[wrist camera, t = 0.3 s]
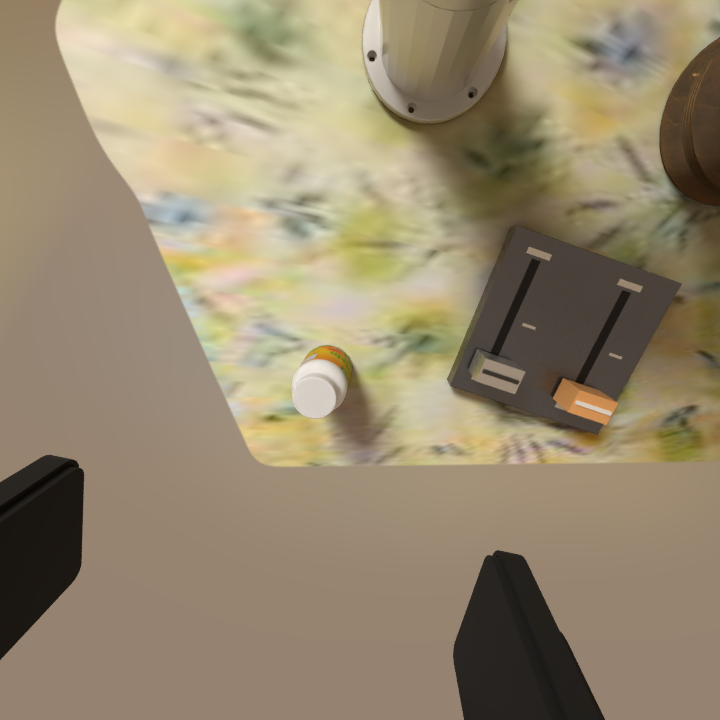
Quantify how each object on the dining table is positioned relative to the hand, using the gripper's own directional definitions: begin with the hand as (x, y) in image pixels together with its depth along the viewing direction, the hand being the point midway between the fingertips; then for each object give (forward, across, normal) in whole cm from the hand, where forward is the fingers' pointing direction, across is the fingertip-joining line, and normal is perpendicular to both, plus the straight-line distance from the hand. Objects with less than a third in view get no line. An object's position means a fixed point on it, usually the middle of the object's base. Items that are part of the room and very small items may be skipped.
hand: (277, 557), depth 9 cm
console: (+35, -20, -3) cm, 41 cm away
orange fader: (+33, -24, +3) cm, 41 cm away
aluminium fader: (+33, -15, +2) cm, 36 cm away
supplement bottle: (+36, +2, +6) cm, 36 cm away
